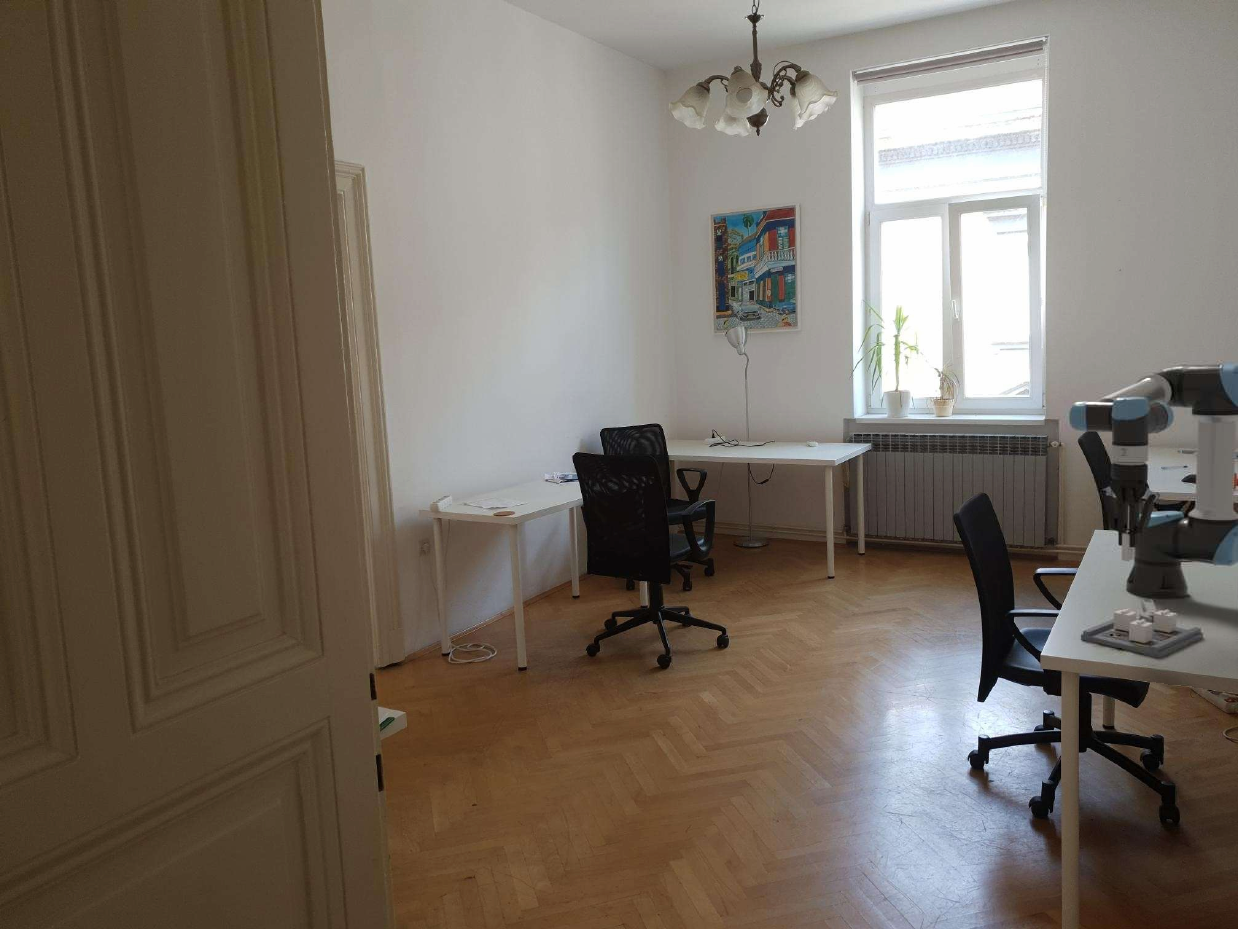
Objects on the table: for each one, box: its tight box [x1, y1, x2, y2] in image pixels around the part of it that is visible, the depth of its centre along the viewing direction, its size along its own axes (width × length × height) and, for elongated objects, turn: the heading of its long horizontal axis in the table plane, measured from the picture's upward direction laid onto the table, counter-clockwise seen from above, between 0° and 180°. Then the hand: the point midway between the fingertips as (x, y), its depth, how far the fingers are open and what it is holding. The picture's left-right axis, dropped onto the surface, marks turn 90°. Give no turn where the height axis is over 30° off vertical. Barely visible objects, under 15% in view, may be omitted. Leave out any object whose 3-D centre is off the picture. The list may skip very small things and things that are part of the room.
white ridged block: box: [1129, 619, 1154, 643], centre depth 211 cm, size 4×4×5 cm
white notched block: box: [1153, 609, 1178, 632], centre depth 217 cm, size 4×4×5 cm
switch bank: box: [1080, 618, 1204, 659], centre depth 217 cm, size 22×18×2 cm
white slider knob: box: [1113, 608, 1137, 631], centre depth 219 cm, size 4×4×5 cm
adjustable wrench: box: [1138, 597, 1158, 623], centre depth 233 cm, size 25×6×2 cm, turn 149°
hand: (1127, 559), depth 215 cm, fingers closed
